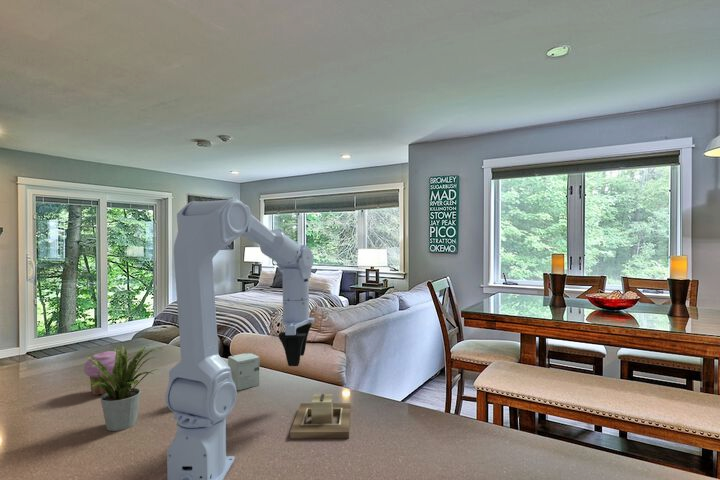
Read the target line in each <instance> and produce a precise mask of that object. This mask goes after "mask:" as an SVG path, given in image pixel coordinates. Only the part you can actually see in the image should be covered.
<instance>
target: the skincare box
mask: <svg viewBox="0 0 720 480" xmlns="http://www.w3.org/2000/svg"><path fill="white" fill-rule="evenodd" d="M227 365H228V366H229V367H230V368H231V376H232V380H233V382H234V383H235V386H236V390H237V391H242V390H245V389H248V388H253V387H257V386H260V356H259V355H256V354H253V353H252V352H245V353H238V354H235V355H230V356H228V357H227Z"/></svg>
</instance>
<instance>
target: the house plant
mask: <svg viewBox="0 0 720 480" xmlns="http://www.w3.org/2000/svg"><path fill="white" fill-rule="evenodd" d="M121 347H122V349H121V348H120V347H117V348H116V347H115V346H113V345H112V348H113V349H114V351H115V352H116V356H115V365H114V367H113V370H112V372H113V377H114V379H113V378H112V377H111V375H110V374H109V372H108V371H107V369H106V368H105V367H104V365H103V364H102V363H100V362H99V361H98V360H96V359H94V358H92V356H86V355H84V357H85V358H88V360H89V359H91V360H92V361H93V362H94V363H95V364H96V365H97V366H98V367H99V368H100V369H99V368H98V367H97V366H95V365H93V366H95V367H96V368H98V369H99V370H100V371H101V372H103V374H104V375H105V376H106V377H107V378H108V380H109V381H110V383H111V384H112V385H113V387H114V388H115V390H114V389H113V388H112V386H111V385H110V384H109V383H108V382H107V380H106V379H105V378H104V377H103V376H102V375H101V374H100V373H98V372H97V373H98V375H99V379H100V380H101V381H102V382H103V383H102V382H100V381H93V382H91V381H90V382H89V383H90V385H91V384H93V386H92V387H95V386H99V387H101V388H103V389H104V390H105V391H106V392H107V393H106V394H101V397H100V403H101V408H102V413H103V417H104V422H105V427H106V429H107V431H113V432H119V431H123V430H126V429H129V428H131V427H133V426H135V425H136V424H137V419H138V412H139V406H140V400H141V395H142V394H141V393H142V390H141V389H140V388H137V385H138V384H140V382H142V380H143V379H144V378H146V377H147V376H148V375H149V374H152V375H154V373H153V372H155V371H156V370H158V371H159V368H157V369H156V368H155V369H152V370H150V371H142V372H140V373H138V371H139V370H140V368H141V367H142V366H143V365H144V364H145V363H146V362H148V361H149V360H151V359H155V358H157V357H149V358H148V359H146V360H144V361H143V362H142V363H140V362H141V361H142V360H143V359H144V358H145V357H146V356H147V355H149V354H150V353H152V352H154V351H157V350H160V349H161V350H162V349H163V347H160V348H155V349H151V350H148V351H146V349H147V348H148V347H149V344H147V345H145V346H143V347H142V348H140V349H139V351H137V353H136V354H135V356H132V357H130V358H128V352H127V349H126V346H125V345H124V343H123V342H122V343H121ZM145 352H146V353H145ZM130 360H131V361H130ZM128 361H130V362H129V363H128ZM91 365H92V364H91ZM137 367H138V368H137ZM136 373H138V374H136ZM142 375H144V376H142ZM140 376H142V377H141V379H139V380H138V378H139V377H140ZM92 387H91V386H90V389H91V388H92Z"/></svg>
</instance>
